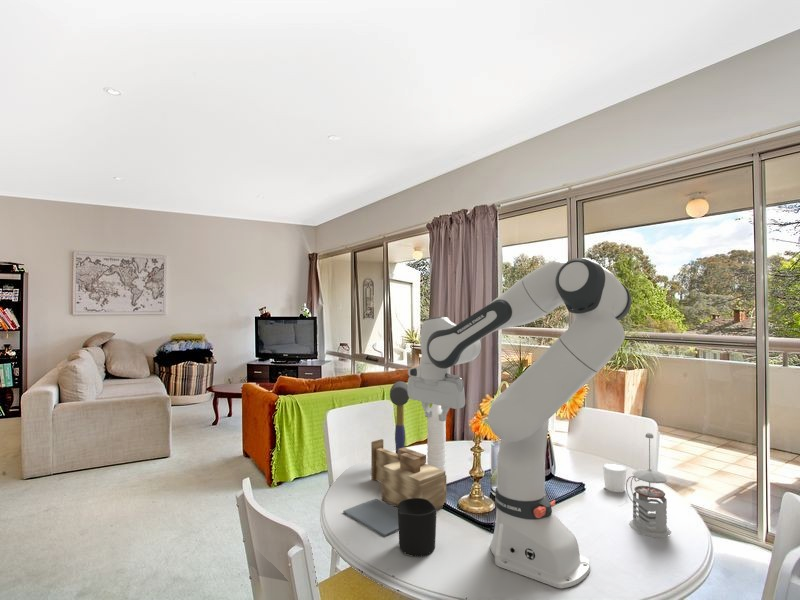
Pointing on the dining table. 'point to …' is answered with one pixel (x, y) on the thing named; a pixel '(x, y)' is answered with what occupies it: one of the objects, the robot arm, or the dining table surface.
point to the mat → (376, 516)
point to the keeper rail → (380, 459)
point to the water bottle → (436, 439)
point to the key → (420, 455)
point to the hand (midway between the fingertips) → (435, 418)
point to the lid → (413, 469)
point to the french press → (649, 521)
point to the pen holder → (417, 526)
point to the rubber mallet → (399, 411)
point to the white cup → (614, 477)
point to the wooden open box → (412, 490)
